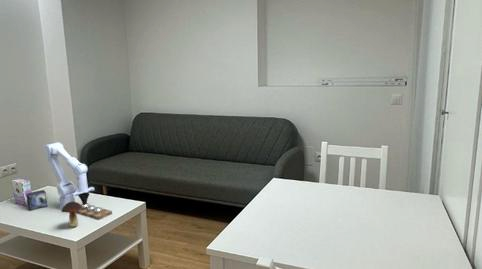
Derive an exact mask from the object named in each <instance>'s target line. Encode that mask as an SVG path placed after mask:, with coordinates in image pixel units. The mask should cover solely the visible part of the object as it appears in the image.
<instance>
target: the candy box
mask: <svg viewBox="0 0 482 269" xmlns="http://www.w3.org/2000/svg"><path fill="white" fill-rule="evenodd" d="M11 186H12V191H13V196H14V203H15V204H17V205H21V206H24V207H26V206H27V207H28V204H27V196H26V194H27V193H31V192H33V191H32V184H31V180H27V179H23V178H17V179H14V180H13V179H12V180H11Z"/></svg>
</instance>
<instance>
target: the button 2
mask: <svg viewBox="0 0 482 269" xmlns="http://www.w3.org/2000/svg"><path fill="white" fill-rule="evenodd" d="M96 207H97V208H95V209H94V213H101V212H102V207H100V206H99V207H98V206H96Z"/></svg>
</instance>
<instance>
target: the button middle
mask: <svg viewBox="0 0 482 269" xmlns="http://www.w3.org/2000/svg"><path fill="white" fill-rule="evenodd" d="M95 207H96V206H95V205H92V206H88V207H87V208H88V211H94V209H95Z"/></svg>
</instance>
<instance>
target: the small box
mask: <svg viewBox="0 0 482 269" xmlns="http://www.w3.org/2000/svg"><path fill="white" fill-rule="evenodd" d="M26 196H27V204H28V205H27V209H28V210H29V211H31V212H32V211H35V210H40V209H43V208H47V207H49V206H48V198H47V193H46V191H45V190H44V189H41V190H36V191H32V192H31V193H27V194H26Z"/></svg>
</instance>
